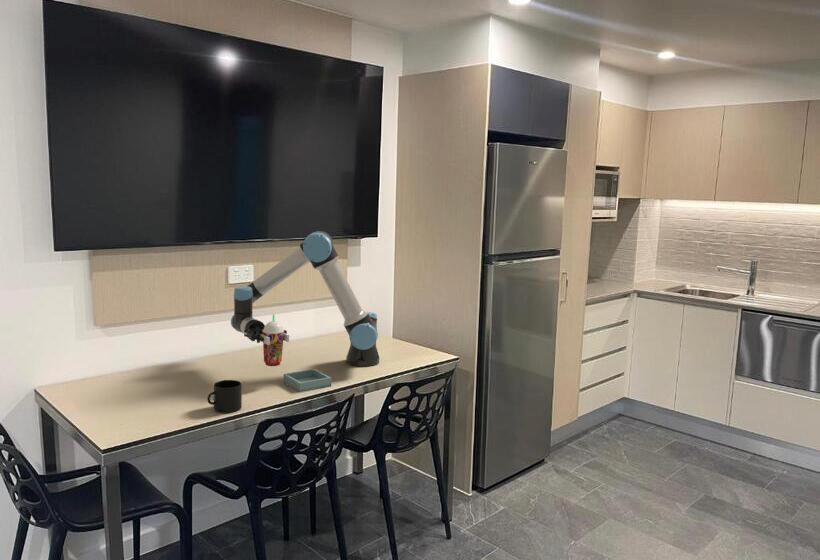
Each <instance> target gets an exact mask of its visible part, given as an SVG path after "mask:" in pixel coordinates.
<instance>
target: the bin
mask: <svg viewBox="0 0 820 560" xmlns="http://www.w3.org/2000/svg"><path fill="white" fill-rule="evenodd" d="M282 378H283V379H282V382H284V383H283V384H285V383H286V384H285V385H287V384H288V385H289V387H290V386H291V387H290V388H292V389H294V390H295V389H296V390H295V391H297V392H299V393H303V392H310V391H314V390H319V389H324V388H329V387H332V377H330V376H329V375H326V374H325V373H322V372H321V371H320V370H317V369H315V368H312V369H305V370H299V371H294V372H288V373H283V375H282ZM288 385H287V386H288ZM318 388H319V389H318Z"/></svg>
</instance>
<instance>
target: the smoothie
mask: <svg viewBox="0 0 820 560" xmlns="http://www.w3.org/2000/svg"><path fill="white" fill-rule="evenodd" d="M264 325H265V327H264V329H263V330H262V332H263V335H265V336H267V337H269V338H270V345H267V344H265V343H263V342H262V347H263V348H262V349H263V362H264V364H265V366H267V367H278V366H281V363H282V361H283V350H284V349H283V348H284V340H283V338H284V330H285V329H284V327H283V326H282V325H281V323H280V322H278V321H275V314H272V321H269V322H268V323H266V324H264Z"/></svg>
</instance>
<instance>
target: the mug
mask: <svg viewBox="0 0 820 560" xmlns="http://www.w3.org/2000/svg"><path fill="white" fill-rule="evenodd" d="M242 385H243V384H242V382H241V381H239V380H234V379H224V380H220V381H216V382H215V383H213V391H212V392H210V393H209V394H208V396H207V399H206V400H207V403H208V404H209V405H212V406H213V409H214V411H216V412H217V413H222V414H229V413H235V412H237V411H240V410H242V407H243V406H242V404H243V402H242V399H243V397H242V394H243V393H242V388H243V386H242ZM212 396H213V401H211V397H212Z"/></svg>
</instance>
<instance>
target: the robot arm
mask: <svg viewBox="0 0 820 560" xmlns="http://www.w3.org/2000/svg"><path fill="white" fill-rule="evenodd" d="M338 260H339V254H338V252H337V250H336V248H335V246H334V241H333V238H332V236H331V235H330V234H329V233H328V232H326V231H324V230H323V231H322V230H316V231H312V232H311V233H310V234H309V235H307V236H306V237H305V238H304V240H303V241H302V243H299V245H298V248H297V249H296V250H294V251H293V252H292V253H290V254H288V255H287V256H286V257H284V258H283V259H282V260H280V262H277V263H276V264H275V265H273V266H272V267H271V268H270V269H268V270H267V271H266V272H264V273H263V274H261V275H260V276H258V277H257V278H256V279H255V280H253V281H252V282H251V283H249V284H248V285H243V286H242V285H239V286H236V287H235V288H234V290H233V292H234V293H233V304H234V305H233V306H234V308H233V311H234V313H233V315H232V317H231V319H230V326H231V327H232V328H233V329H234V330H235V331H237V332H239V333H242V334H243V336H244V337H246V338H248V339H249V340H250V341H251V342H255V341H256V343H257V344H259V343H260V342H261V343H262V344H263V343H265V344H267V345H270V338H269V337H267V336H265V335H263V332H262V330H263V329H264V327H265V325H266V324H264V322H263V321H260V320H259V319H256V318H254V317H253V304H254V303H255V302H256V301H258V300H259V299H261V298H262V297H263V296H264V295H266V294H267V293H269V292H270V291H271V290H273V288H274V289H275V287H277V286H278V285H279V284H281V283H282V282H283V281H285V280H287V279H288V278H289V277H290V276H292V275H294V273H296V272H298V271H299V270H300V269H301V268H303V267H305V266H306V265H307V264H309V263H310V264H311V266H312V268H313V269H314V270H317V271H319V273H320V275H321V276H322V279H323V281H324V283H325V284H326V286H327V288H328V291H329V292H330V294H331V296H332V298H333V300H334V301H335V304H336V306H337V307H338V310H339V311H340V313H341V315H342V317H343V319H344V322H343V326H344V329H345V330H346V332H347V335H348V336H349V341H350V345H349V348H348V351H347V355H346V357H345V358H346V359H345V362H346V363H347V364H348V365H350V366H355V367H370V366H371V367H372V366H375V365H378V364H379V363H380V356H379V352H378V348H377V340H378V336H379V335H378V334H379V333H378V329H377V327H378V326H377V325H378V323H377V322H378V315H377V313H375V312H372V311H371V312H370V311H369V312H368V311H365V310H363V308H362V306H361V305H360V303H359V301H358V299H357V297H356V295H355V293H354V291H353V289H352V287H351V285H350V283H349V282H348V279H347V278H346V275H345V274H344V273H345V272H344V271H343V270H342V268H341V265H340V264H339V262H338ZM283 342H286V343H289V342H290V334H288V331H287V329H284V338H283Z"/></svg>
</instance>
